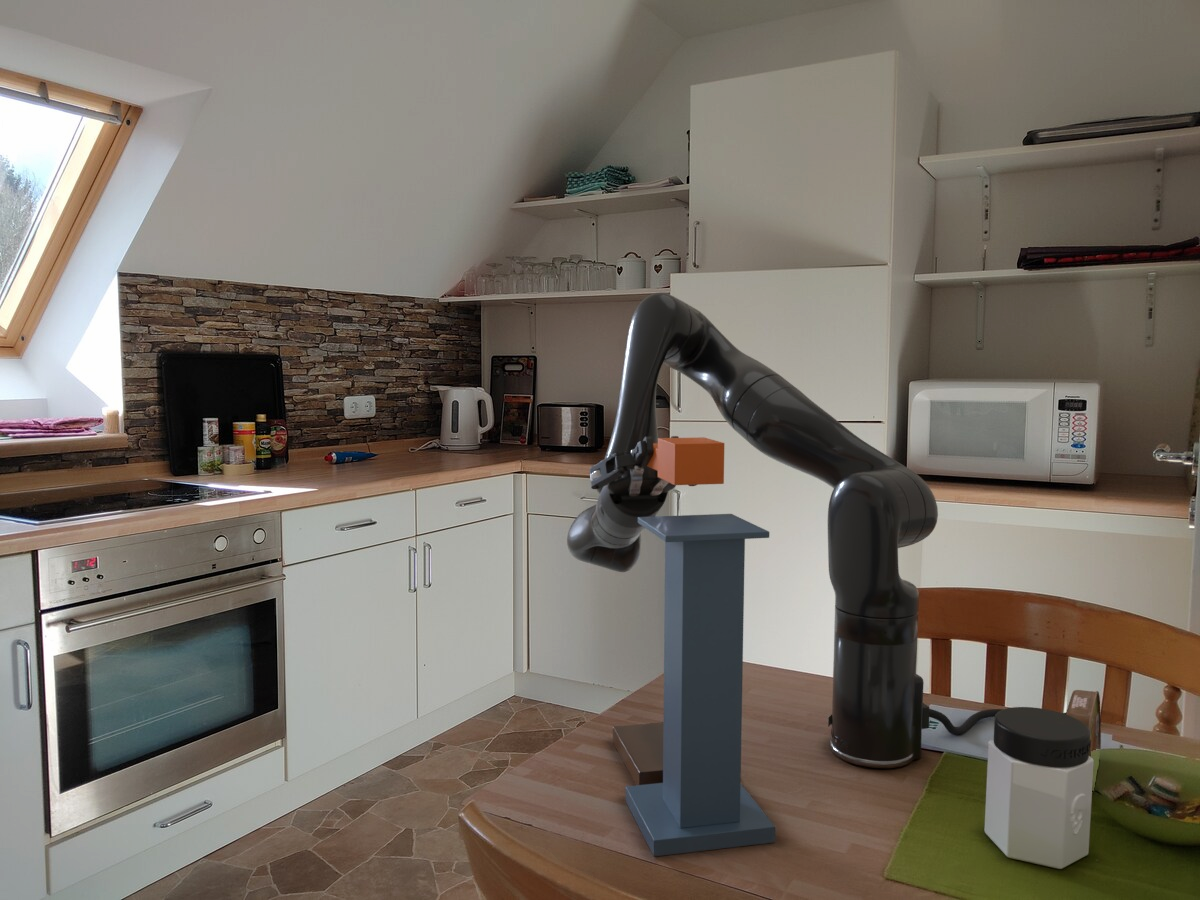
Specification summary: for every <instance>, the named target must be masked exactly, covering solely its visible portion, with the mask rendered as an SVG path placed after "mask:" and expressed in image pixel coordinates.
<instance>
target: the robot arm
mask: <svg viewBox="0 0 1200 900" xmlns="http://www.w3.org/2000/svg"><path fill="white" fill-rule="evenodd" d="M663 365H664V366H666V367H667V368H671V369H672V370H675V371H677V372H679V373H680V374H682V375H684V376H686V377H687V378H688V379H690V380H691V381H693V382H694V383H696V384H697V385H698V386H699V387H701V388H702V389H703V390H705V391H706V392H707V393H708V395H710V397H711V398H712V400H713V402H714V403H715V406H716V407H717V409H718V411H719V413H720V414H721V416H722V417H723V419H724V420H725V422H726V423H727V424H728V425H729V426H730V427H731V428H732V429H733V430H734V431H735V432H736V433H737V434H739V435H740V436H741V437H742V438H743V439H744V440H745V441H746V442H748V443H749V444H750V445H751V446H752V447H753V448H755V449H756V450H757V451H759V452H760V453H761V454H763V455H764V456H767V457H768V458H770V459H772V460H775V461H776V462H778V463H779V464H783V465H785V466H787V467H790V468H792V469H795V470H796V471H799V472H802V473H804V474H807V475H809V476H811V477H813V478H816V479H818V480H819V481H821V482H823V483H825V484H826V485H828V486H830V487H831V488H832V492H831V495H830V498H829V502H828V508H827V556H828V557H827V561H828V575H829V576H828V577H829V580H830V584H831V587H832V589H833V592H834V604H835V605H834V624H833V625H834V626H833V627H834V628H833V629H834V630H833V631H834V632H833V664H832V665H833V666H832V667H833V668H832V669H833V670H832V698H831V699H832V701H831V702H832V703H831V706H832V707H831V708H832V709H831V714H830V715H829V716H828V718H827V719H828V721H827V722H828V723H827V726H828V728H829V727H830V726H831V729H830V736H831V737H830V741H829V742H830V743H829V748H830V751H831V752H832V753H833V754H834V755H835V756H836V757H837V758H839V759H841V760H843V761H845V762H847V763H850V764H852V765H857V766H861V767H866V768H872V769H893V768H894V769H895V768H900V767H903V766H906V765H909V764H911V763H912V761H913V760H920V759H921V758H922V737H923V736H922V734H923V730H925V729H929V728H930V718H931V719H934V720H937V721H939V722H940V723H941V724H942V725H943V727H944V728H945V729H946V730H947V732H948V733H949V734H951V735H955V736H961V735H964V734H966V733H967V732H968V731H969V730H970V729H971V728H972V727H973V726H974V725H975V724H977V722H979V721H981V720H983V719H989V718H995V715H996V714H997V713H998V712H999V711H1001V710H1003V709H1004V708H990V709H984V710H980V711H977V712H975V713H973V714H972V715H971V716H969V717H968V718H967V719H966V720H965V721H964V722H963V723H962V724H960V726H955V725H954V724H953V723H952V722H951V720H950V719H949V717H948V716H947V715H945V714H944V713H942V712H941V711H939V710H935V709H932V708H931V707H930V706H929V705H927V704H925V702H924V684H925V683H924V679H923V677H922V676H920V675H919V674H917V664H918V663H917V662H918V661H917V660H918V636H919V635H918V634H919V633H918V632H919V610H920V593H919V590H918V588H917V586H916V585H915V584H914V583H912V582H911V581H908V580H906V579H904V578H902V577H901V575H900V569H899V568H900V567H899V549H901V548H904V547H909V546H912V545H915V544H917V543H919V542H921V541H923V540H925V539H927V538H928V537H929V536H930V535H931V534H932V533H933V531H934V530H935V529H936V526H937V524H938V517H939V510H938V509H939V508H938V504H937V500H936V497H935V495H934V492H933V491H932V490H931V487H929V485H928V484H927V482H926V481H925V480H924V479H923V478H922V477H921V476H919V474H918V473H916V472H915V471H913V470H912V469H910V468H909V467H907V466H905V465H904V464H902V463H900V462H899V461H897V460H896V459H893V458H892V457H890V456H889V455H887V454H886V453H884V452H882V451H880V450H879V449H877V448H875V447H874V446H872V445H871V444H869V443H868V442H866V441H864V439H862V438H860V437H859V436H857V435H856V434H854V433H853V432H852V431H851V430H849V429H848V427H846V426H844V425H843V424H842V423H841V422H840V421H839V420H837V419H836V418H835V417H834V416H832V415H831V414H830V413H828V412H827V411H825V409H823V408H822V407H820V405H818V404H816V403H815V402H814V401H813V400H811V399H810V398H809V397H808V396H807V395H806V394H804V393H803V392H802V391H801V390H800V389H799V388H797V387H796V386H795V385H793V383H791V382H789V381H788V379H786V378H784V377H783V376H782V375H780V374H779V373H778V372H776V371H774V369H772V368H770V367H768V366H767V365H766V364H764V363H762V362H760V361H759V360H757V359H755V358H754V357H752V356H750V355H748V354H746V353H744V352H743V351H741V350H740V349H738V348H737V347H736V346H735V345H734V344H733V343H732V342H731V341H730V340H729V339H728V338H727V337H726V336H725V335H724V334H723V333H722V332H721V331H720V330H719V329H718V328H717V327H716V326H715V325H714V324H713V322H711V320H709V318H708V317H707V316H706V315H705V314H704V313H703V312H701V310H699V309H697V308H695V307H694V306H692V305H690V304H689V303H687V302H685V301H684V300H682V299H679V298H678V297H676V296H674V295H671V294H670V293H666V292H655V293H652V294H650V295H648V296H646V297H645V298H644V299H642V300H641V301H640V303H639V304H638V305H637V306H636V308H635V310H634V312H633V314H632V317H631V320H630V322H629V328H628V331H627V338H626V344H625V352H624V357H623V366H622V372H621V379H620V385H619V386H620V387H619V393H618V401H617V407H616V408H617V409H616V413H615V419H614V424H613V428H612V432H611V436H610V439H609V443H608V446H607V448H606V452H605V456H604V459H602V460H600V461H599V462H597V463H596V464H594V465H592V466H591V467H589V469H588V470H589V478H590V488H591V490H596V492H597V493H598V494H599V495H598V497H597V501H596V504H594V505H592V506H590V507H588V508H586V509H584V510H583V511H582V512H580V513H579V514H578V515H577V516H576V518H575V519H574V520H573V522H571V525H570V527H569V529H568V531H567V537H566V545H567V549H568V552H569V553H570V554H571V556H572V557H573V558H575V559H576V560H577V561H581V562H583V563H587V564H590V565H594V566H597V567H601V568H604V569H607V570H610V571H613V572H617V573H627V572H629V571H630V570H633V568H634V567H635V566H636V565H637V564H638V562H639V560H640V557H641V554H642V545H643V543H642V541H643V535H642V532H644V531H645V530H646V528H645V527H643V526H642V525H640V524H639V523H638V517H655V516H657V514H659V512H660V510H661V509H662V508H663V506H664V504H665V502H666V500H667V497H668V493H669V492H670V491H671V490H673V489H675V488H676V487H677V485H673V484H671V483H669V482H667V481H665V480H663V479H661V478H659V477H658V471H657V470H654V469H652V468H650V467H648V466H647V465H648V463H649V461H650V460H651V458H652V456H653V454H654V449H653V448H654V447H653V443H658V438H659V433H658V421H657V407H656V401H657V400H656V399H657V385H658V380H659V377H660V373H661V370H662V366H663ZM670 438H680V437H679V436H678V435H671V436H670ZM687 486H689V487H696V486H697V485H687ZM1062 713H1063V714H1066V713H1067V711H1066V712H1062Z"/></svg>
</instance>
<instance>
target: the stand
mask: <svg viewBox="0 0 1200 900" xmlns="http://www.w3.org/2000/svg"><path fill="white" fill-rule="evenodd" d="M638 523H639V524H640V525H642V526H643V527H645V530H647V531H649V532H650V533H652V534H653V535H654V536H656V537H657V538H659V539H660V540H662V541H663V542H664V609H663V610H664V617H663V619H664V622H663V623H664V625H663V626H664V627H663V633H664V634H663V638H664V639H663V783H656V784H646V785H636V784H635V785H626V786H625V803H626V805H627V807H628V809H629V810H630V812H631V814H632V816H633V818H634V820H635V822H636V824H637V826H638V828H639V830H640V832H641V835H642V837H643V838H644V840H645V842H646V844H647V846H648V848H649V850H650V852H651V854H652V856H653V857H662V856H671V855H680V854H687V853H696V852H697V853H698V852H705V851H713V850H721V849H730V848H739V847H748V846H755V845H757V846H758V845H764V844H773V843H776V825H775V824H774V823H773V821H771V819H770V818H769V816H768V815H767V814H766V813H765V812H764V811H763V809H762V808H761V806H759V804H758V803H757V802H756V800H755V799H754V798H753V796H751V794H750V793H749V791H748V790H747V789H746V788H745V787H744V786H743V784H742V783H741V782H742V781H741V780H742V779H741V778H742V777H741V776H742V770H741V769H742V730H743V729H742V727H743V726H742V722H743V672H744V671H743V669H744V667H743V666H744V617H745V616H744V611H745V607H744V606H745V563H746V562H745V561H746V559H745V553H746V540H751V539H752V540H753V539H769V538H770V531H769V530H767V529H765V528H762V527H760V526H759V525H756V524H754V523H752V522H750V521H748V520H745V519H743V518H742V517H739V516H737V515H735V514H733V513H715V514H714V513H713V514H712V513H710V514H689V515H687V514H686V515H685V514H684V515H683V514H682V515H659V516H657V515H656V516H655V517H638Z"/></svg>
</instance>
